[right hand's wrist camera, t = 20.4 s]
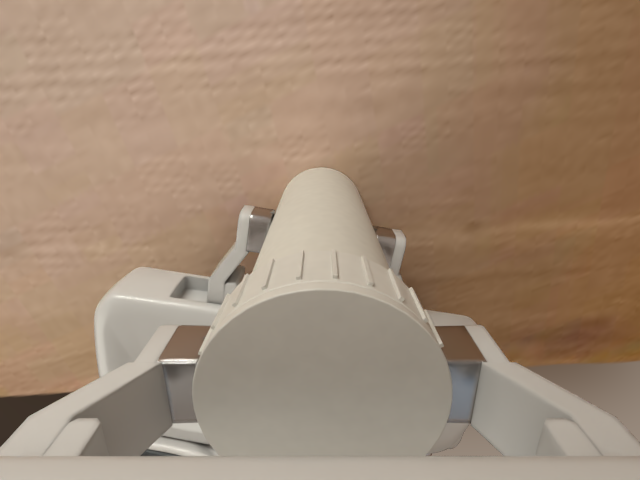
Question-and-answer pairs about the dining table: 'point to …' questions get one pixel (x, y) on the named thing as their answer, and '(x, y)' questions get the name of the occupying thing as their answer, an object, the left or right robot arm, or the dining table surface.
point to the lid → (322, 363)
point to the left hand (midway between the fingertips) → (323, 220)
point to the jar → (321, 219)
